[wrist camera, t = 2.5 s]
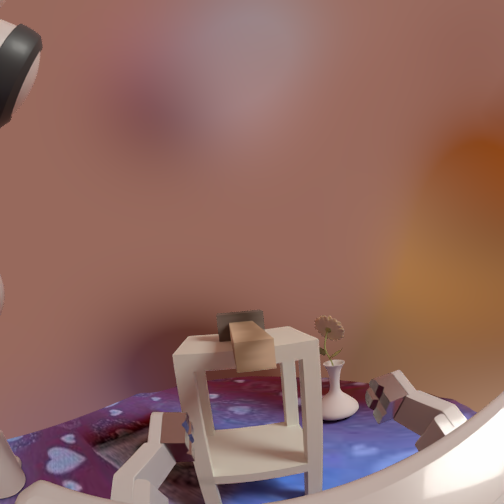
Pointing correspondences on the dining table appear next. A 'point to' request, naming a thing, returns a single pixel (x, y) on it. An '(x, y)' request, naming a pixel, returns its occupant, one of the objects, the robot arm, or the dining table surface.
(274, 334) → the shelf stand
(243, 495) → the dining table surface
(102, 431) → the dining table surface
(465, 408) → the dining table surface
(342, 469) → the dining table surface
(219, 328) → the mallet
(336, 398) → the flower in vase
